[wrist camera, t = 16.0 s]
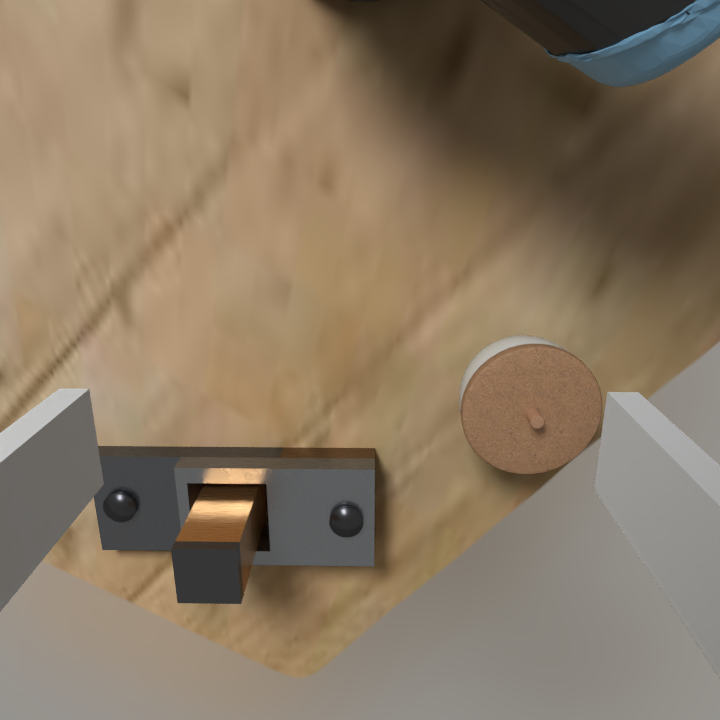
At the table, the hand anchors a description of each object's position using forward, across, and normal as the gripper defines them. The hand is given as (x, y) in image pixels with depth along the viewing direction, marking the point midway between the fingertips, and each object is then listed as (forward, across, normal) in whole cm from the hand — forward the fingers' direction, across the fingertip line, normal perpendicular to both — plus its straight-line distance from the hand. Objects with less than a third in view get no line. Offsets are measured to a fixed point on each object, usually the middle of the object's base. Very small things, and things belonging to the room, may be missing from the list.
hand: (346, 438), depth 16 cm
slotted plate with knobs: (+37, -12, -24) cm, 45 cm away
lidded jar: (+37, +13, -12) cm, 41 cm away
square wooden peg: (+37, -12, -24) cm, 45 cm away
